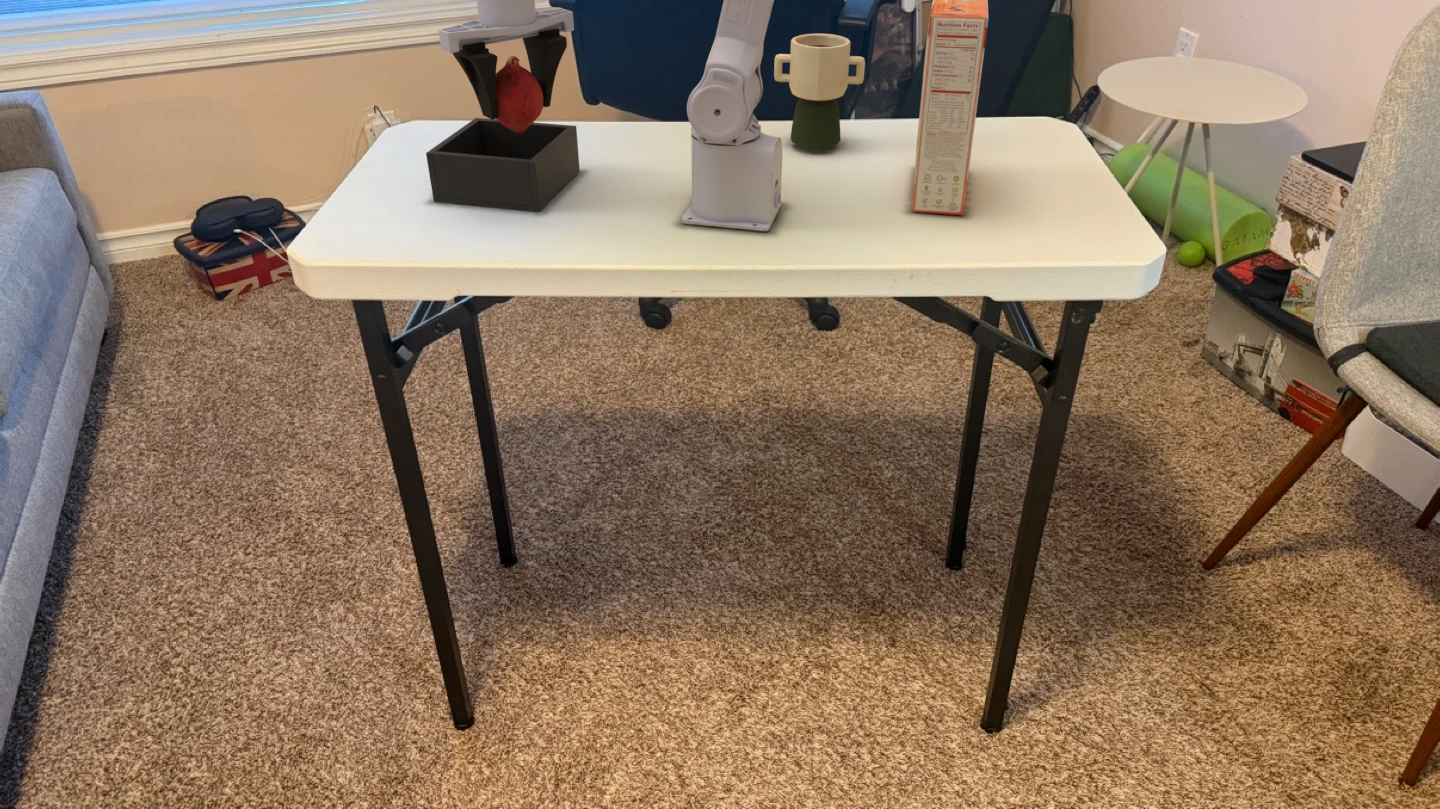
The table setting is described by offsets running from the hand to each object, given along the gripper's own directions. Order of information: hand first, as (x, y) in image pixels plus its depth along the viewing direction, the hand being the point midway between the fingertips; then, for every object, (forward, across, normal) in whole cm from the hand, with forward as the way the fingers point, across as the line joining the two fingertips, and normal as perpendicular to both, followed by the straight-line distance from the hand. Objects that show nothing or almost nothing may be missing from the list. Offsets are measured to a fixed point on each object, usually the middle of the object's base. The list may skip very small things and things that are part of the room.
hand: (517, 110), depth 108 cm
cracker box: (+10, -37, +28) cm, 47 cm away
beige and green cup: (+10, -37, +8) cm, 39 cm away
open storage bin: (+10, 0, -5) cm, 11 cm away
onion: (+3, 0, 0) cm, 3 cm away
